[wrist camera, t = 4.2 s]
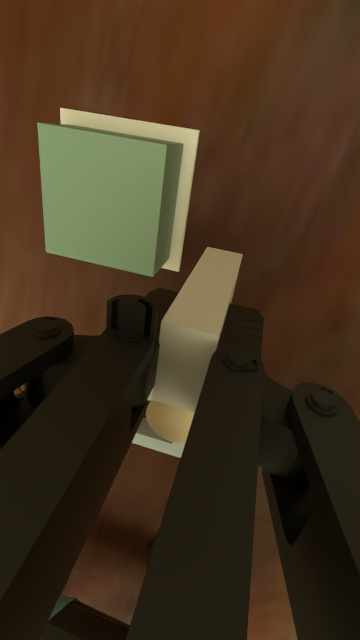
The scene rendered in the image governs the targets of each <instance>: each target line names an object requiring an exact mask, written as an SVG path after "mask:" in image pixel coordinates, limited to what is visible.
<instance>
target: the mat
mask: <svg viewBox="0 0 360 640" xmlns="http://www.w3.org/2000/svg"><path fill="white" fill-rule="evenodd" d="M60 117H61V124H69V125H77V126H83V127H89V128H95V129H101V130H107V131H112V132H118V133H124V134H130V135H136V136H142V137H148V138H154V139H159V140H165V141H171V142H177V143H183V144H184V146H183V154H182V161H181V169H180V177H179V185H178V193H177V201H176V208H175V216H174V224H173V232H172V240H171V248H170V255H169V259H168V261H167V262H166V263H165V264H164V265H163V266H162V267H161V268H164V269H168V270H172V271H177V272H179V271H180V264H181V258H182V251H183V244H184V237H185V230H186V224H187V217H188V210H189V203H190V196H191V190H192V183H193V176H194V169H195V162H196V156H197V149H198V142H199V135H200V130H194V129H188V128H182V127H176V126H170V125H164V124H157V123H151V122H145V121H139V120H133V119H127V118H121V117H114V116H108V115H102V114H96V113H90V112H84V111H78V110H72V109H65V108H60Z"/></svg>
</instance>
